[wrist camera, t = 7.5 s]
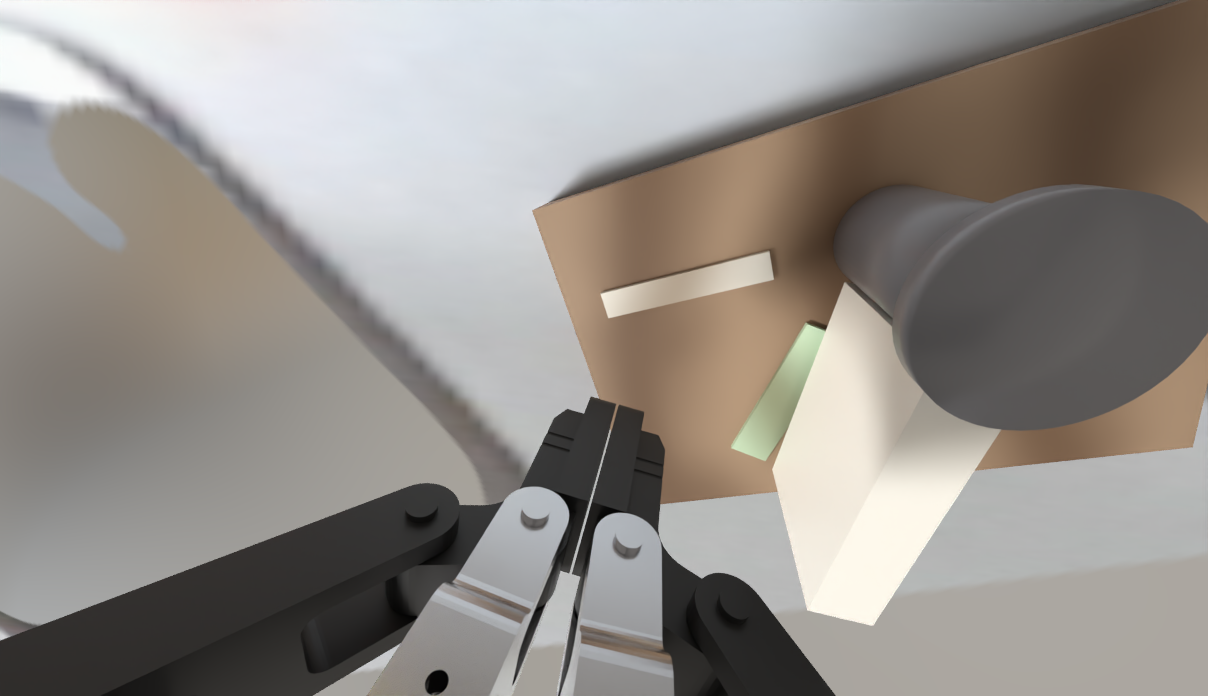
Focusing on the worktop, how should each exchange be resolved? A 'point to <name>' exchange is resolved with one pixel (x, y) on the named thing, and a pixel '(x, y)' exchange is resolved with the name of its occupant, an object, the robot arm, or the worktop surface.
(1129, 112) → the board
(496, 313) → the worktop surface
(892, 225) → the knob
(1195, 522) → the worktop surface
